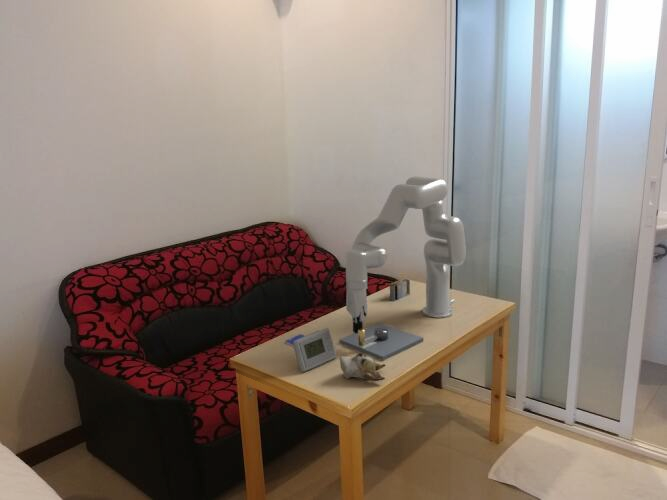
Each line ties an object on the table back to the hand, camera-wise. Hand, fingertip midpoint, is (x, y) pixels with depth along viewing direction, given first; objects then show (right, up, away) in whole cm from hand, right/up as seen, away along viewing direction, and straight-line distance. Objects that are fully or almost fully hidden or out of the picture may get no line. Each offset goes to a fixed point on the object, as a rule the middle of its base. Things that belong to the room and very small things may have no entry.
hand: (357, 332), depth 203 cm
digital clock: (-15, -10, -10) cm, 21 cm away
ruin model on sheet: (+22, +8, +52) cm, 57 cm away
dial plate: (+9, -4, +5) cm, 11 cm away
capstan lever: (+6, -4, +1) cm, 7 cm away
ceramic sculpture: (+1, -12, -21) cm, 24 cm away
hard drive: (-20, -6, +6) cm, 22 cm away
